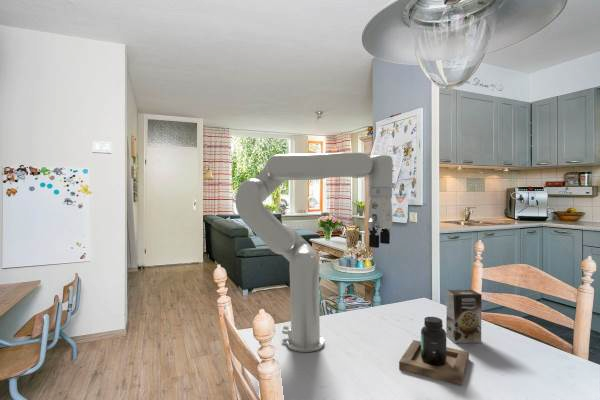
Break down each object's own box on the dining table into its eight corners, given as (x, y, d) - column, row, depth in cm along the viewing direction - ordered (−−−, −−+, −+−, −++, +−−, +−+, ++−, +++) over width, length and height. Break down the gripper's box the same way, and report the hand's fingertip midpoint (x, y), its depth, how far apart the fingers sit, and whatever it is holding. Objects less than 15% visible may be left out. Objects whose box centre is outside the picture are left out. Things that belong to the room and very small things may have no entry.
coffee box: (455, 344, 110) (454, 295, 110) (445, 335, 117) (445, 289, 116) (482, 343, 110) (482, 294, 110) (471, 335, 117) (471, 288, 116)
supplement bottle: (418, 362, 97) (418, 321, 96) (424, 352, 102) (423, 313, 102) (444, 369, 93) (443, 325, 93) (448, 358, 99) (448, 317, 98)
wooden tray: (399, 369, 95) (399, 361, 95) (413, 346, 109) (413, 339, 109) (461, 385, 87) (461, 377, 87) (468, 359, 100) (468, 351, 100)
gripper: (382, 193, 101) (381, 250, 102) (399, 193, 116) (399, 243, 116) (358, 193, 106) (358, 247, 106) (378, 193, 120) (378, 241, 120)
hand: (379, 245), depth 111 cm, fingers open, 9 cm apart
